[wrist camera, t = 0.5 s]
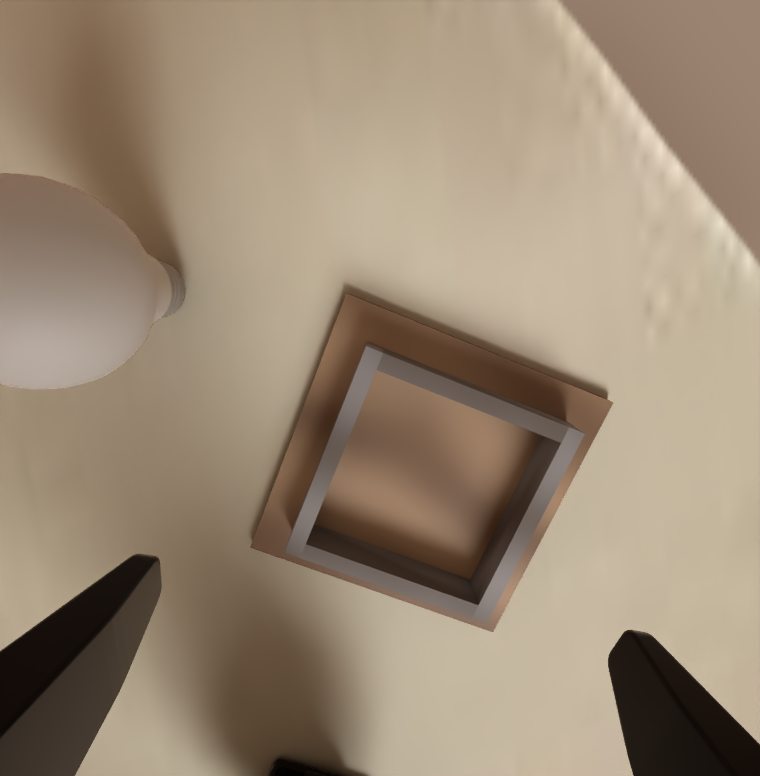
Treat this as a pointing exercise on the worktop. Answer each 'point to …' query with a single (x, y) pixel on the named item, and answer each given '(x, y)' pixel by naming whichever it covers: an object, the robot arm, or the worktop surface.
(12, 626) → the worktop surface
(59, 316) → the lightbulb
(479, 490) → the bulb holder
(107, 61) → the worktop surface
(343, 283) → the worktop surface
